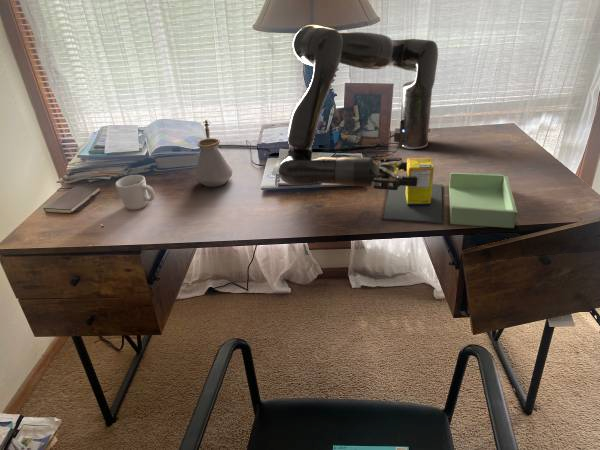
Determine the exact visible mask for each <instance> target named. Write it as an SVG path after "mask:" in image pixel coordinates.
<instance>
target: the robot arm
mask: <svg viewBox="0 0 600 450" xmlns="http://www.w3.org/2000/svg"><path fill="white" fill-rule="evenodd" d="M292 48H293V52H294V55H295V56H296V57H297V59H298V60H299V61H301V62H302V63H303V64H304V65H309V66H311V67H313V74H312V79H311V82H310V83H309V87H308V88H307V90H306V92H305V93H304V95H303V96H302V98H301V99H300V100H299V102H298V103H297V104H296V107H294V110H293V112H292V115H291V119H290V123H289V127H288V134H287V136H288V144H289V151H288V153H287V156H286V158H285V159H284V160H283V161H282V162H280V164H279V166H278V170H277V171H278V176H279V178H280V179H281V181H283V182H284V183H285V184H289V185H295V186H297V185H298V186H300V185H311V184H312V185H313V184H330V185H332V184H333V185H341V186H351V187H372V186H373V189H375V190H387V191H389V190H398V187H401V186H416V185H417V177H406V176H407V175H406V176H404V175H402V176H400V175H398V174H397V173H400V172H402V171H404V172H407V161H404V160H403V158H402V157H379V158H378V162H375V161H374V158H373V157H367V156H366V157H365V156H363V157H362V156H340V157H339V156H337V157H336V156H321V157H318V158H315V159H312V155H313V151H312V145H313V142H314V138H315V134H317V129H318V124H319V120H320V117H321V113H322V110H323V107H324V103H325V102H326V99H327V96H328V93H329V91H330V88H331V86H332V84H333V81H334V79H335V76H336V73H337V70H338V68H339V65H340V64H342V65H346V66H350V67H354V68H357V69H363V70H383V69H385V68H387V67H392V68H397V69H401V70H404V71H408V72H415V73H416V74H415V79H414V80H410V81H408V82H405V83H404V84H403V85H402V88H401V105H400V106H401V107H400V108H401V109H400V120H399V128H394V132H393V134H391V135H389V136H390V138H393V143H398V148H402V149H406V150H421V149H425V148H427V147H428V145H429V134H430V131H431V129H430V118H431V110H432V109H431V107H432V96H433V94H432V93H433V88H434V85H435V81H436V73H437V67H438V60H439V48H438V44H437V43H436V42H435V41H434V40H431V39H420V38H408V39H407V38H406V39H392V38H391V37H389V36H387V35H385V34H382V33H376V32H375V33H374V32H362V31H344V32H343V31H338V30H336V29H334V28H330V27H325V26H321V25H318V24H317V25H316V24H309V25H306V26H303V27H301V28H300V29H299V30H298V31H297V32H296V34H295V36H294V38H293V41H292ZM390 138H389V139H390ZM257 146H258V145H255V144H254V145H253V144H252V145H251V144H219V145H218V148H233V147H234V148H254V149H255V148H257ZM354 146H355V147H351V148H344V149H343V150H346V149H347V150H349V149H359V148H360V149H361V148H362V149H366V148H367V149H368V148H376V147H378V146H380V145H376V144H372V145H371V144H370V145H354ZM257 149H258V148H257ZM391 185H393V186H391Z"/></svg>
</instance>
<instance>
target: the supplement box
mask: <svg viewBox="0 0 600 450" xmlns="http://www.w3.org/2000/svg"><path fill="white" fill-rule="evenodd" d="M406 162H407V171H406V177H417V185H416V186H406V201H407V206H430V205H431V194H432V184H433V180H434V169H435V168H434V165H433V162H432V158H431V157H425V158H424V157H421V158H417V157H416V158H407V159H406Z"/></svg>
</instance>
